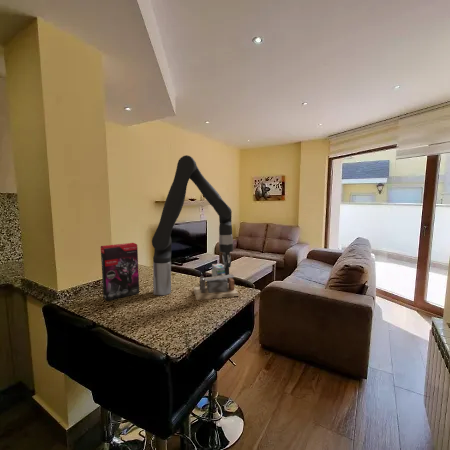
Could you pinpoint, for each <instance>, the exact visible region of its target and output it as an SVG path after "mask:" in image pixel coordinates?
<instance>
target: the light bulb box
mask: <svg viewBox="0 0 450 450" xmlns="http://www.w3.org/2000/svg"><path fill="white" fill-rule="evenodd" d="M223 273H225V267H224V265H223V263H211V277H214V276H221V275H222V274H223ZM225 280H226V281H227V282H228V278H225Z"/></svg>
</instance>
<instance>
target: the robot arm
mask: <svg viewBox="0 0 450 450" xmlns="http://www.w3.org/2000/svg"><path fill="white" fill-rule="evenodd" d="M190 180H191V181H192V183H193V184H194V186H196V188H197V189H198V190H199V192H200V194H202V196H203V198H204V199H205V200H206V201H207V203H209V205H211V207H212V208H213V209H214V211H215V212H216V213H217V215H218V217H219V218H218V220H219V225H218V232H219V233H218V235H219V236H218V249H219V250H218V251H219V252H220V253H222V254H221V259H222V265H224V267H225V274H226V275H227V274H230V268H231V267H232V259H231V256H232V255H231V253H233V251H234V237H233V226H232V214H233V213H232V212H233V211H232V209H231V207H229V205H228V204H227V202H226V201H224V200H223V199H222V197H221V195H220V193H219V192H218V191H217V190H216V189H215V188H214V186H213V185H212V183H210V182H209V180H207V179H206V177H204V175H203V174H202V172H201V170H200V169H199V167H198V165H197V162H196V161H195V159H194V158H193V157H192V156H191V155H183V156H181V157H180V158H179V159H178V161H177V164H176V170H175V175H174V178H173V181H172V183H171V185H170V188H169V190H168V193H167V196H166V198H165V202H164V205H163V209H162V212H161V215H160V220H159V223H158V225H157V227H156V229H155V231H154V234H153V236H152V239H151V245H152V247H153V249H154V251H153V253H154V254H153V257H152V258H153V259H152V260H153V261H152V262H153V263H152V264H153V268H152V269H153V271H152V272H153V275H152V277H153V278H152V281H153V282H152V287H153V290H152V291H153V295H154V296H155V295H156V296H167V295H169V294H171V293H172V245H173V244H172V243H173V242H172V236H171V235H172V231H173V228H174V227H175V224H176V222H177V220H178V218H179V216H180V214H181V212H182V208H183V206H184V203H185V200H186V194H187V188H188V183H189V181H190Z"/></svg>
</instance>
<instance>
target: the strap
mask: <svg viewBox="0 0 450 450" xmlns="http://www.w3.org/2000/svg"><path fill="white" fill-rule="evenodd" d="M234 275H235V274H233V273H229V274H227V275H226V274H225V273H223V274H222V275H221V276H214V277H212V276H209V277H207V276H206V277H204V278H200V277H199V282H200V281H201V279H205V282H207V281H211V280H218V279H224V278H227V279H229V278H234V277H235V276H234Z"/></svg>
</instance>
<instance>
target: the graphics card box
mask: <svg viewBox="0 0 450 450" xmlns="http://www.w3.org/2000/svg"><path fill="white" fill-rule="evenodd" d="M138 249H139V248H138V244H137V243H136V242H128V243H118V244H117V243H116V244H108V245H101V246H100V258H101V260H100V261H101V275H102V277H101V278H102V279H101V280H102V295H103V297H102V298H103V299H104V301H107V302H108V301H113V300H117V299H121V298H125V297H129V296H133V295H137V294H140V280H139V279H140V277H139V276H140V275H139V258H138V257H139V256H138V255H139V253H138V251H139V250H138Z"/></svg>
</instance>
